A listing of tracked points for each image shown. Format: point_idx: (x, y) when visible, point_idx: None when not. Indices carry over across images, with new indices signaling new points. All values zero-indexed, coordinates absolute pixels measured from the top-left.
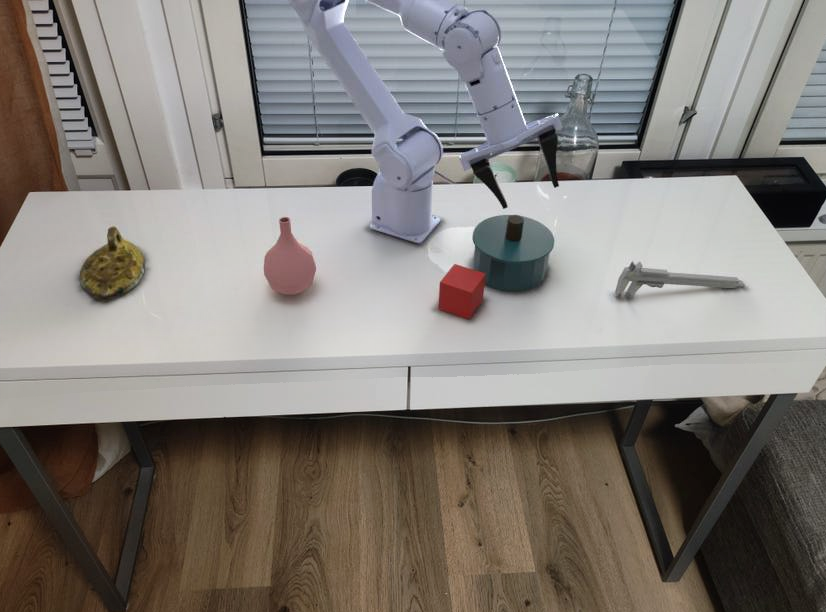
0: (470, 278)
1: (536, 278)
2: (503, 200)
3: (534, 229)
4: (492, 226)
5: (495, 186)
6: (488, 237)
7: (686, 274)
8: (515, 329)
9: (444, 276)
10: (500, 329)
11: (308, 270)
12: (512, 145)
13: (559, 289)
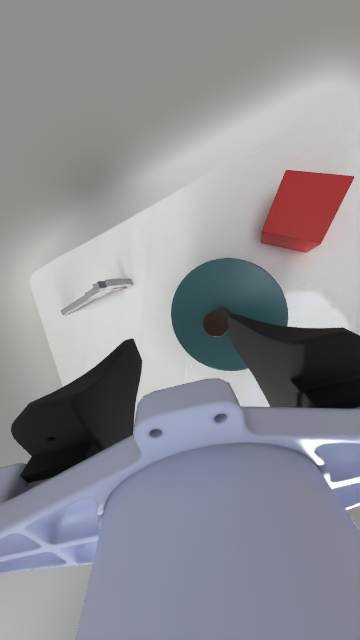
0: (289, 209)
1: None
2: (235, 318)
3: (195, 338)
4: None
5: (259, 328)
6: (260, 312)
7: (80, 303)
8: (219, 199)
9: (343, 198)
10: (237, 192)
11: None
12: (173, 387)
13: (177, 284)
